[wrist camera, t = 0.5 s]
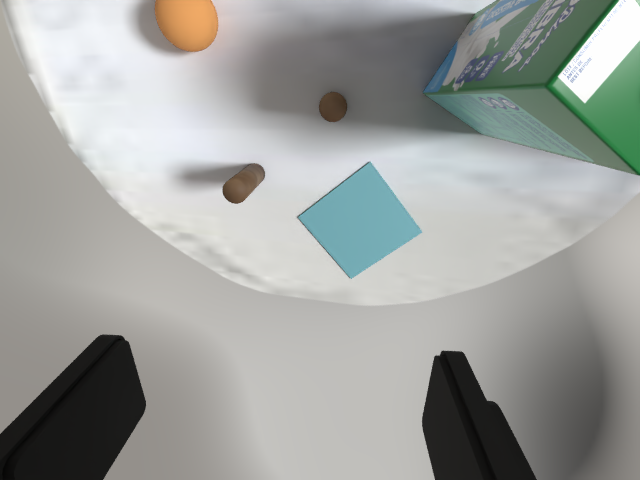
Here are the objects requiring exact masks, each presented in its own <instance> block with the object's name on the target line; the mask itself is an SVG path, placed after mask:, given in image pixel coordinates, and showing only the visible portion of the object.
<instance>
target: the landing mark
mask: <svg viewBox="0 0 640 480" xmlns="http://www.w3.org/2000/svg"><path fill="white" fill-rule="evenodd" d="M298 218H299V219H300V220H301V222H302V223H303V224H304V225H305V226H306V227H307V229H308V230H309V231H310V232H311V233H312V234H313V235H314V237H315V238H316V239H317V240H318V241H319V242H320V244H321V245H322V246H323V247H324V248H325V249H326V250H327V252H328V253H329V254H330V255H331V256H332V257H333V259H334V260H335V261H336V262H337V263H338V264H339V265H340V267H341V268H342V269H343V270H344V271H345V272H346V274H347V275H348V276H349V277H350V278H351V279H352V278H353V277H355V276H356V275H358V274H359V273H361V272H362V271H364V270H365V269H367V268H368V267H370V266H371V265H373V264H374V263H376V262H378V261H379V260H381V259H382V258H384V257H385V256H387V255H388V254H390V253H391V252H393V251H394V250H396V249H397V248H399V247H400V246H402V245H404V244H405V243H407V242H408V241H410V240H411V239H413V238H414V237H416V236H417V235H419V234H420V233H422V231H421V230H420V228H419V227H418V226H417V224H416V223H415V222H414V220H413V219H412V218H411V216H410V215H409V213H408V212H407V211H406V209H405V208H404V207H403V205H402V204H401V203H400V201H399V200H398V199H397V197H396V196H395V194H394V193H393V192H392V190H391V189H390V188H389V186H388V185H387V184H386V182H385V181H384V180H383V178H382V177H381V176H380V174H379V173H378V171H377V170H376V169H375V167H374V166H373V165H372V163H371V162H369V163H368V164H366V165H365V166H364V167H363V168H361V169H360V170H359V171H357V172H356V173H355V174H353V175H352V176H351V177H350V178H348V179H347V180H346V181H344V182H343V183H342V184H340V185H339V186H338V187H337V188H335V189H334V190H333V191H331V192H330V193H329V194H327V195H326V196H325V197H323V198H322V199H321V200H320V201H318V202H317V203H316V204H314V205H313V206H312V207H310V208H309V209H308V210H307V211H305V212H304V213H303V214H301V215H300V216H299V217H298Z"/></svg>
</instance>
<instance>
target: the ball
mask: <svg viewBox="0 0 640 480" xmlns="http://www.w3.org/2000/svg"><path fill="white" fill-rule="evenodd" d="M155 15H156V20H157V23H158V26H159V28H160V30H161V31H162V33H163V35H164V36H165V37H166V38H167V39H168V40H169V41H170V42H171V43H172V44H173V45H175V46H176V47H178V48H180V49H182V50H185V51H190V52H196V51H201V50H203V49H206V48H207V47H208V46H209V45H211V43H212V42H213V41H214V39H215V37H216V34H217V31H218V17H217V12H216V9H215V7H214V5H213V3H212V1H211V0H156V2H155Z"/></svg>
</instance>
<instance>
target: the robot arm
mask: <svg viewBox="0 0 640 480" xmlns="http://www.w3.org/2000/svg"><path fill="white" fill-rule="evenodd" d="M145 407H146V401H145V397H144V393H143V390H142V387H141V383H140V380H139V376H138V372H137V369H136V365H135V362H134V358H133V355H132V352H131V348H130V345H129V342H128V341H125V339H124V337H123V336H119V335H100V336H98V337H97V338H96V339H95V340H94V341H93V342H92V343H91V344H90V345H89V346H88V347H87V348H86V349H85V350H84V351H83V352H82V353H81V354H80V355H79V356H78V357H77V358H76V359H75V360H74V361H73V362H72V363H71V364H70V365H69V366H68V367H67V368H66V369H65V370H64V371H63V372H62V373H61V374H60V375H59V376H58V377H57V378H56V379H55V380H54V381H53V382H52V383H51V384H50V385H49V386H48V387H47V388H46V389H45V390H44V391H43V392H42V393H41V394H40V395H39V396H38V397H37V398H36V399H35V400H34V401H33V402H32V403H31V404H30V405H29V406H28V407H27V408H26V409H25V410H24V411H23V412H22V413H21V414H20V415H19V416H18V417H17V418H16V419H15V420H14V421H13V422H12V423H11V424H10V425H9V426H8V427H7V428H6V429H5V430H4V431H3V432H2V433H1V434H0V480H103V479H104V477H105V476H106V474H107V472H108V471H109V469H110V467H111V466H112V464H113V462H114V461H115V459H116V458H117V456H118V454H119V453H120V451H121V450H122V448H123V446H124V445H125V443H126V441H127V440H128V438H129V437H130V435H131V433H132V432H133V430H134V429H135V427H136V425H137V423H138V422H139V420H140V419H141V417H142V416H143V414H144V411H145ZM422 427H423V432H424V436H425V441H426V445H427V449H428V453H429V457H430V461H431V465H432V469H433V473H434V477H435V480H537V479H536V477H535V475H534V473H533V471H532V470H531V467H530V465H529V463H528V461H527V460H526V458H525V456H524V454H523V452H522V450H521V448H520V446H519V444H518V442H517V440H516V438H515V436H514V434H513V432H512V430H511V428H510V426H509V425H508V422H507V420H506V418H505V416H504V415H503V413H502V411H501V409H500V407H499V406H498V405H497V404H496V403H495V402H493V401H487V400H486V398H485V396H484V394H483V392H482V390H481V387H480V385H479V383H478V381H477V379H476V377H475V375H474V373H473V371H472V369H471V367H470V365H469V363H468V360H467V358H466V356H465V354H464V353H463V352H459V351H442V352H441V354H440V356H435V357H434V361H433V366H432V372H431V376H430V381H429V386H428V392H427V397H426V402H425V407H424V412H423V417H422Z"/></svg>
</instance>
